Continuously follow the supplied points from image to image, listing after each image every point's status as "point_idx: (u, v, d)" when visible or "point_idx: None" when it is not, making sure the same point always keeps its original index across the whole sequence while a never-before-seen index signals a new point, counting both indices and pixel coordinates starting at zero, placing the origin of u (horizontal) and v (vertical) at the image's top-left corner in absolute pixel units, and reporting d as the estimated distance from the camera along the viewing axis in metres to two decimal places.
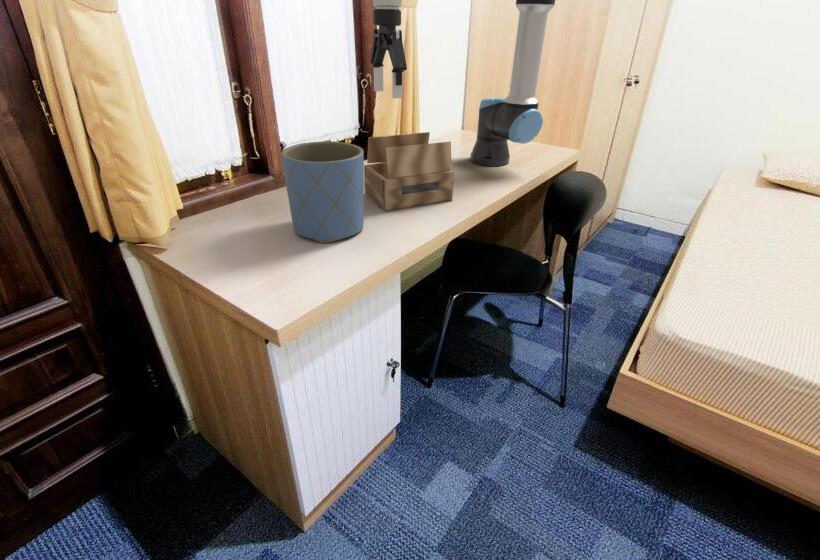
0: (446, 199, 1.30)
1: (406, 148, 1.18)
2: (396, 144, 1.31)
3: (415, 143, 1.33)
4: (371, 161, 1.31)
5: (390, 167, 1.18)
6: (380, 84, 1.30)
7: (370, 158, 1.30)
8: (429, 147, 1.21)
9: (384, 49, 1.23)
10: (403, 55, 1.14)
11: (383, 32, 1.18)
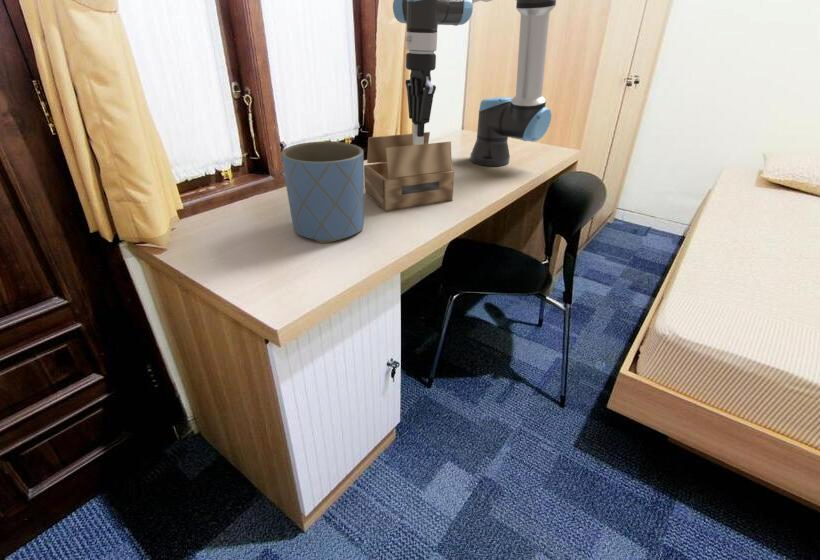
0: (446, 199, 1.30)
1: (406, 148, 1.18)
2: (396, 144, 1.31)
3: None
4: (371, 161, 1.31)
5: (390, 167, 1.18)
6: None
7: (370, 158, 1.30)
8: (429, 147, 1.21)
9: None
10: (429, 110, 1.12)
11: None
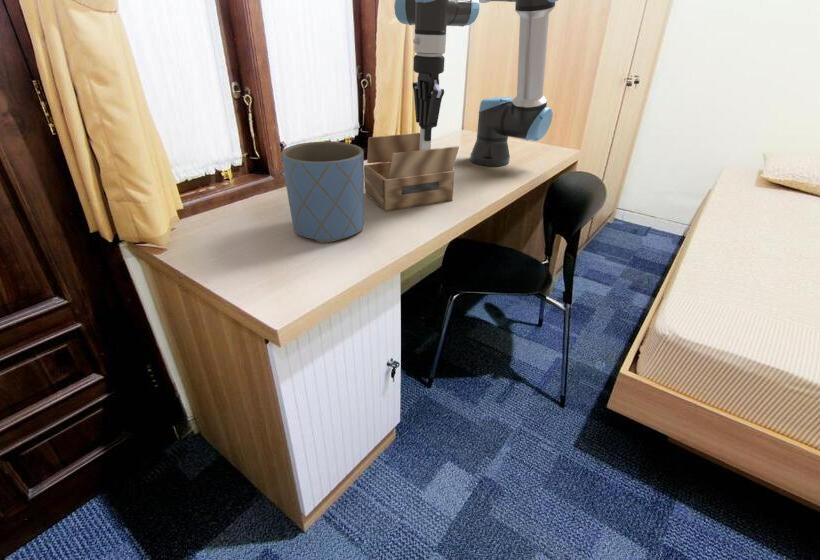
0: (446, 199, 1.30)
1: (413, 153, 1.15)
2: (396, 144, 1.31)
3: (415, 143, 1.33)
4: (371, 161, 1.31)
5: (393, 170, 1.17)
6: None
7: (370, 158, 1.30)
8: (436, 152, 1.18)
9: None
10: (437, 114, 1.09)
11: None
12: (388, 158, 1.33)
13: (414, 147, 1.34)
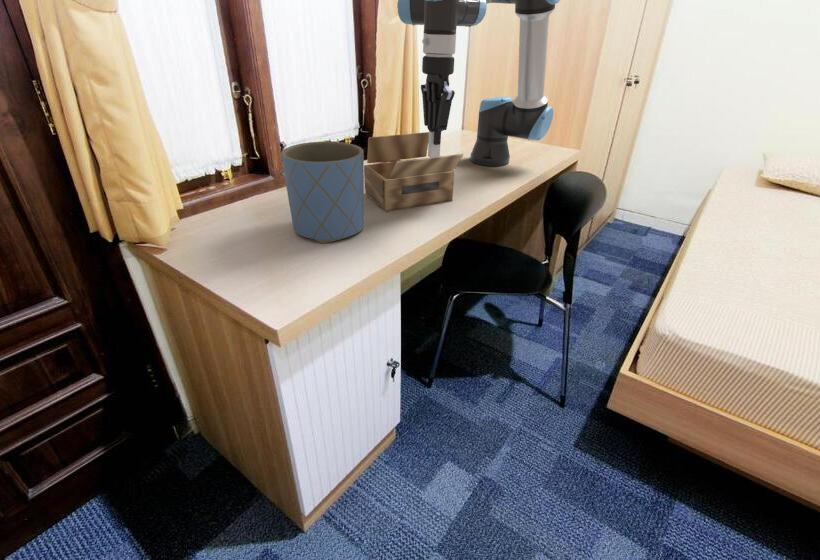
0: (446, 199, 1.30)
1: (417, 161, 1.14)
2: (396, 144, 1.31)
3: (415, 143, 1.33)
4: (371, 161, 1.31)
5: (394, 173, 1.16)
6: None
7: (370, 158, 1.30)
8: (440, 159, 1.17)
9: None
10: (447, 117, 1.05)
11: None
12: (388, 158, 1.33)
13: (414, 147, 1.34)
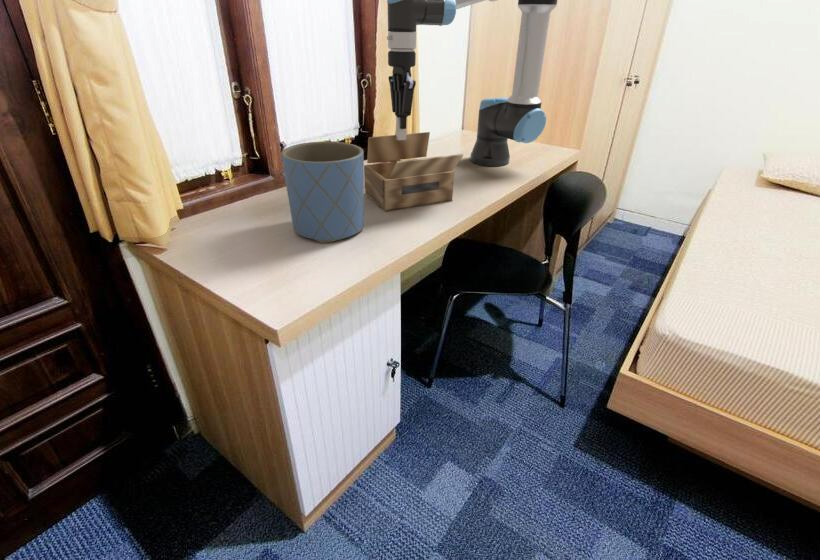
0: (446, 199, 1.30)
1: (417, 161, 1.14)
2: (396, 144, 1.31)
3: (415, 143, 1.33)
4: (371, 161, 1.31)
5: (394, 173, 1.16)
6: None
7: (370, 158, 1.30)
8: (440, 159, 1.17)
9: None
10: (410, 104, 1.21)
11: None
12: (388, 158, 1.33)
13: (413, 147, 1.34)
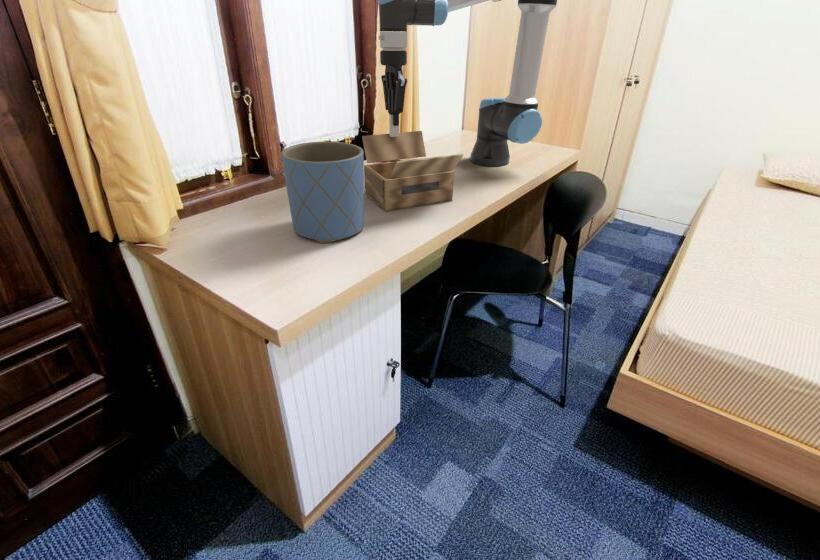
0: (446, 199, 1.30)
1: (417, 161, 1.14)
2: (391, 142, 1.34)
3: (410, 142, 1.36)
4: (370, 161, 1.31)
5: (394, 173, 1.16)
6: None
7: (369, 157, 1.31)
8: (440, 159, 1.17)
9: None
10: (402, 101, 1.25)
11: None
12: (387, 157, 1.33)
13: (410, 146, 1.36)
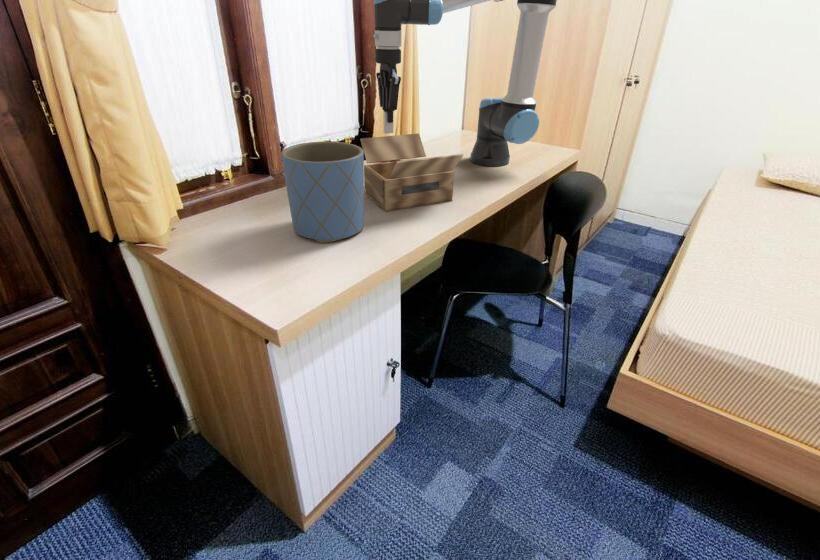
0: (446, 199, 1.30)
1: (417, 161, 1.14)
2: (390, 144, 1.35)
3: (409, 143, 1.37)
4: (370, 161, 1.31)
5: (394, 173, 1.16)
6: None
7: (368, 157, 1.31)
8: (440, 159, 1.17)
9: None
10: (396, 99, 1.28)
11: None
12: (387, 157, 1.34)
13: (409, 147, 1.37)
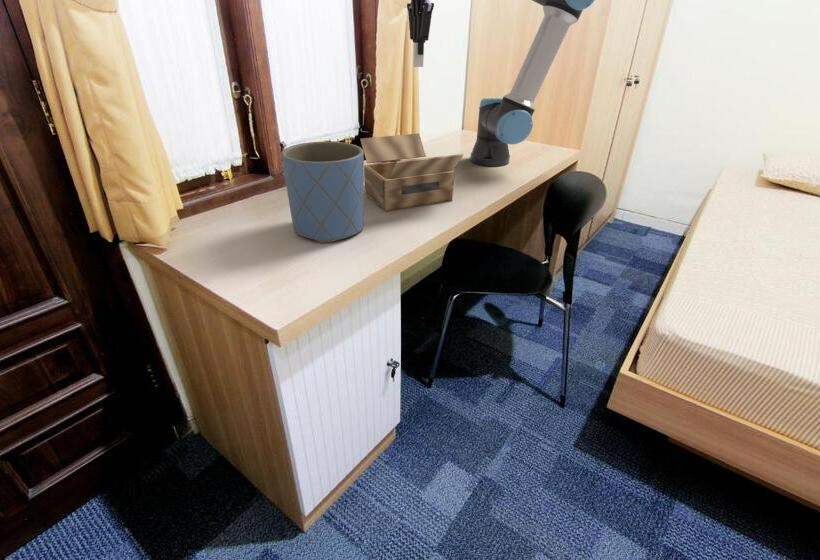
0: (446, 199, 1.30)
1: (417, 161, 1.14)
2: (390, 144, 1.35)
3: (409, 143, 1.37)
4: (370, 161, 1.31)
5: (394, 173, 1.16)
6: None
7: (368, 157, 1.31)
8: (440, 159, 1.17)
9: None
10: (428, 28, 1.27)
11: None
12: (387, 157, 1.34)
13: (409, 147, 1.37)
